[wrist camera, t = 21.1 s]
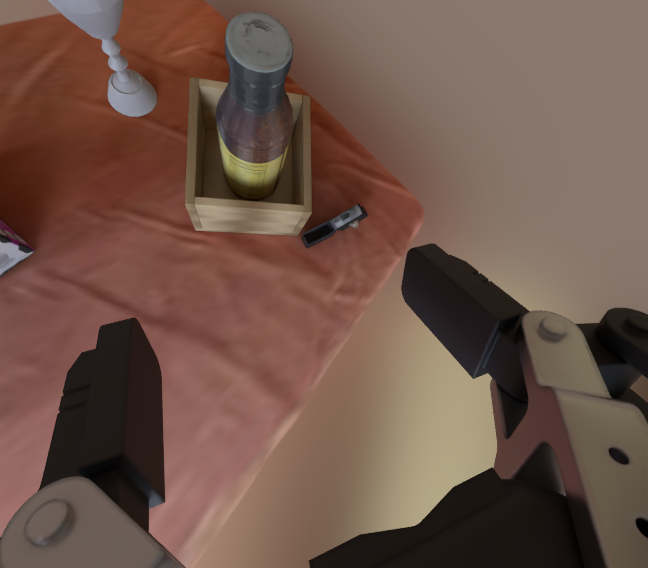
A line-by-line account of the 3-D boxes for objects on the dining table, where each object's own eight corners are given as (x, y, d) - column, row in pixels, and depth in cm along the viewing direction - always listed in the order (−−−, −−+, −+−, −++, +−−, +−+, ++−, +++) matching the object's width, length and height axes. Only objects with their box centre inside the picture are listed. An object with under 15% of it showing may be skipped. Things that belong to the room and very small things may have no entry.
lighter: (316, 252, 43) (303, 253, 38) (308, 238, 43) (295, 237, 38) (370, 220, 41) (365, 217, 36) (363, 205, 41) (356, 201, 36)
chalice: (149, 136, 38) (74, -31, 20) (85, 108, 36) (-51, -95, 19) (176, 84, 39) (128, -111, 22) (116, 56, 38) (15, -175, 21)
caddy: (195, 230, 37) (184, 204, 30) (198, 126, 39) (189, 76, 32) (297, 236, 40) (312, 213, 33) (296, 138, 42) (310, 95, 34)
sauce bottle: (246, 143, 39) (255, -35, 20) (289, 177, 40) (336, 37, 21) (210, 182, 38) (182, 29, 19) (255, 217, 38) (273, 104, 19)
